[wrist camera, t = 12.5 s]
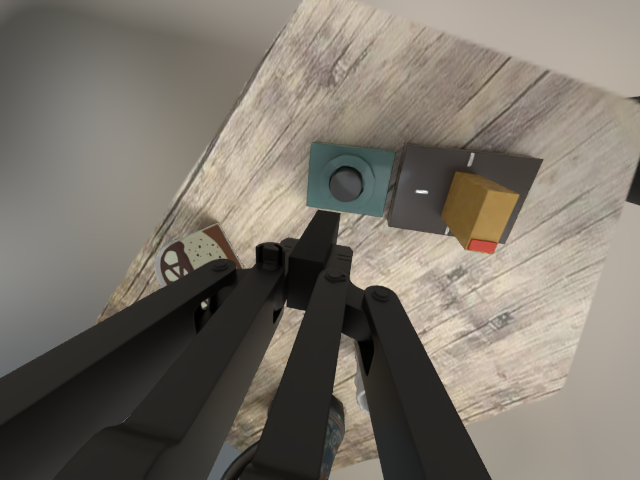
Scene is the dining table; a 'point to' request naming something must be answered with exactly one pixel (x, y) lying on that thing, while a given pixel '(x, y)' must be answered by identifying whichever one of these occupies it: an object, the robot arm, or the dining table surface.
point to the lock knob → (477, 211)
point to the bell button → (345, 185)
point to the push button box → (363, 160)
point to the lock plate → (436, 178)
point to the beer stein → (330, 449)
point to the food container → (192, 254)
